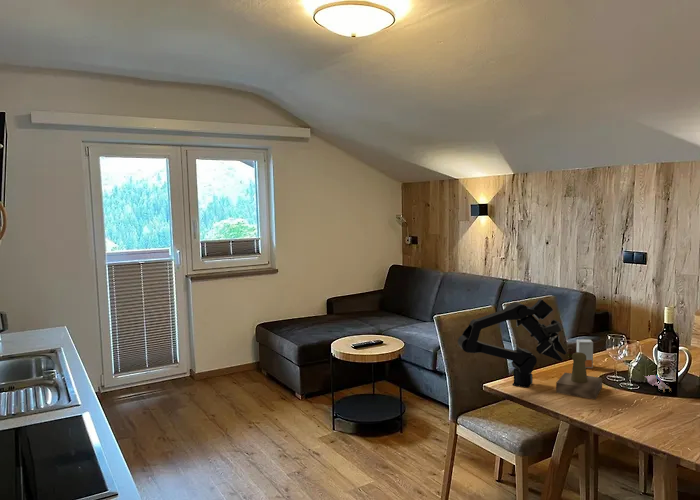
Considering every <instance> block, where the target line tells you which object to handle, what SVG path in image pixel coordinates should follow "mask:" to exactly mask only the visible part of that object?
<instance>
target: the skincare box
mask: <svg viewBox="0 0 700 500" xmlns="http://www.w3.org/2000/svg"><path fill="white" fill-rule="evenodd" d="M576 352H581V353H584V354H585V355H586V361H585V366H586V369H593V368H594V356H593V355H594V342H593V341H592V340H591V339H576Z"/></svg>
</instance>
